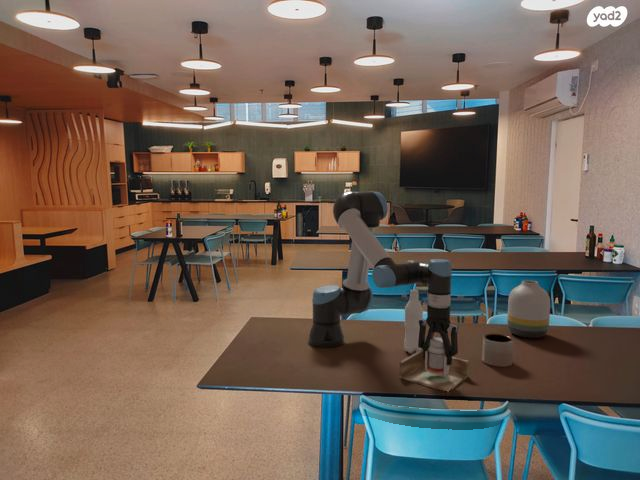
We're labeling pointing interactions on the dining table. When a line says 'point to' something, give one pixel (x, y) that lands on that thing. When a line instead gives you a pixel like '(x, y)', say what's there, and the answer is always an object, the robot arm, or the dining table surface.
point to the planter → (497, 350)
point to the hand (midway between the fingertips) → (436, 370)
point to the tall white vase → (412, 322)
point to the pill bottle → (436, 356)
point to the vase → (528, 310)
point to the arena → (416, 373)
